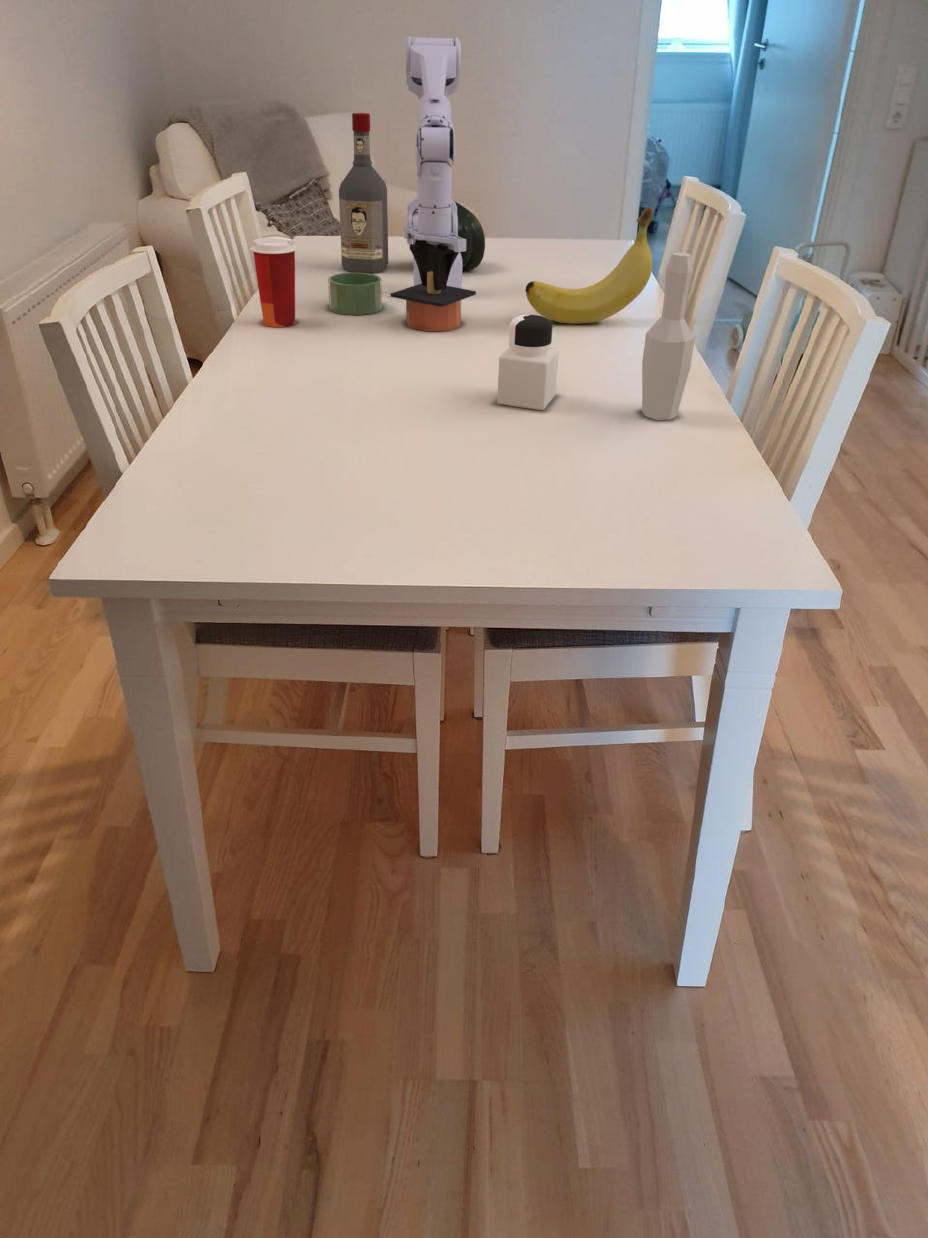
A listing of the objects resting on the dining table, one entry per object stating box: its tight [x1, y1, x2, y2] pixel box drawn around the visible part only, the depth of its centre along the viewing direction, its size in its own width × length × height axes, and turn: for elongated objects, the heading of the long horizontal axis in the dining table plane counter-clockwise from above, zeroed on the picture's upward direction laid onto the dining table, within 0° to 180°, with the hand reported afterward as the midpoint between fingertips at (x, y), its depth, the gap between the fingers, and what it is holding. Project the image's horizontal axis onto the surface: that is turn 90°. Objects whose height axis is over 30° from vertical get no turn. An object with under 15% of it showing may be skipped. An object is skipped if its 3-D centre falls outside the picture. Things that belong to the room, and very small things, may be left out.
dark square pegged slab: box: [390, 271, 477, 307], centre depth 170 cm, size 11×11×4 cm
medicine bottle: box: [496, 314, 560, 411], centre depth 138 cm, size 7×7×12 cm
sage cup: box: [327, 272, 383, 316], centre depth 181 cm, size 10×10×5 cm
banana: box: [525, 207, 655, 325], centre depth 172 cm, size 23×6×20 cm, turn 94°
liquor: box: [338, 112, 389, 274], centre depth 201 cm, size 9×9×30 cm
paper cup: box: [249, 236, 297, 328], centre depth 169 cm, size 8×8×14 cm
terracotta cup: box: [405, 300, 462, 332], centre depth 173 cm, size 10×10×5 cm
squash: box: [453, 200, 486, 272], centre depth 208 cm, size 14×15×15 cm
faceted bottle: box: [641, 251, 696, 421], centre depth 132 cm, size 6×6×22 cm
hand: (433, 287), depth 171 cm, fingers open, 3 cm apart
